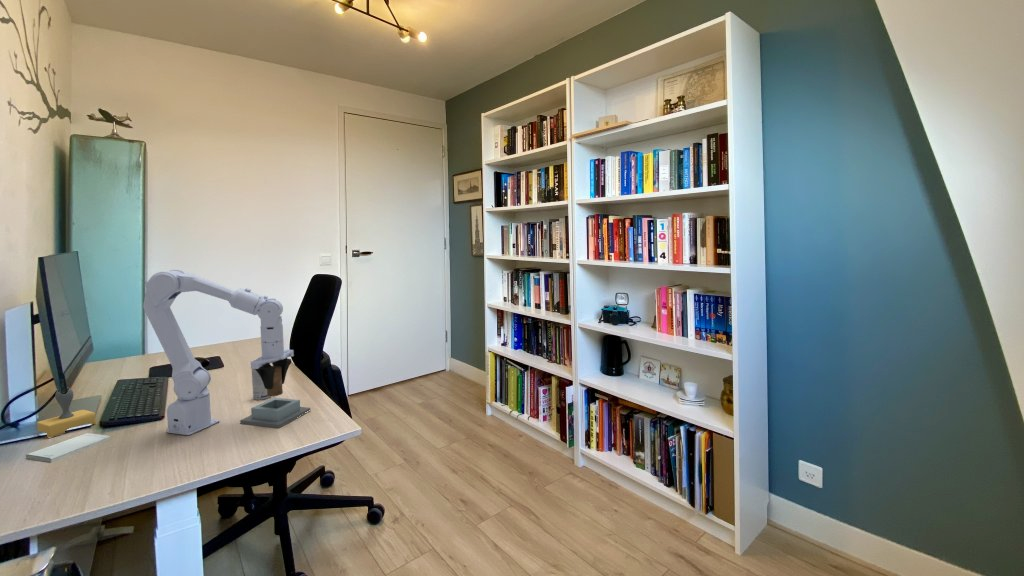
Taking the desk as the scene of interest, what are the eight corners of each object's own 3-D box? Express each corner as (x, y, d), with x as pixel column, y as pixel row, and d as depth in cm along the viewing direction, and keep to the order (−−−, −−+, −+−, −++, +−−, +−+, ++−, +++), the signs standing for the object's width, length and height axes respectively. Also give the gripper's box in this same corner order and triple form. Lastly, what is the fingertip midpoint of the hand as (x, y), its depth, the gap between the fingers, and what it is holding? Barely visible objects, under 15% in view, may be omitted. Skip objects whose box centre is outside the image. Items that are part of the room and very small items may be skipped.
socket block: (279, 428, 122) (278, 414, 121) (240, 423, 125) (239, 410, 124) (310, 410, 134) (309, 398, 134) (274, 407, 137) (273, 394, 137)
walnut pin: (275, 396, 126) (274, 370, 126) (264, 395, 127) (262, 369, 127) (285, 392, 130) (284, 366, 130) (274, 391, 131) (273, 365, 130)
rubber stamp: (49, 439, 114) (44, 394, 113) (37, 435, 116) (32, 391, 115) (96, 424, 123) (92, 383, 122) (84, 421, 126) (80, 380, 124)
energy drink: (275, 394, 148) (273, 360, 147) (264, 400, 143) (262, 364, 142) (260, 394, 149) (258, 359, 147) (249, 399, 143) (247, 364, 142)
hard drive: (50, 458, 102) (110, 435, 114) (25, 454, 104) (86, 432, 116) (51, 465, 102) (110, 441, 114) (25, 460, 104) (86, 438, 116)
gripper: (264, 347, 119) (267, 395, 121) (301, 336, 133) (303, 379, 135) (243, 345, 121) (246, 393, 122) (281, 335, 135) (283, 377, 136)
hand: (274, 386), depth 129 cm, fingers closed on walnut pin, 4 cm apart
